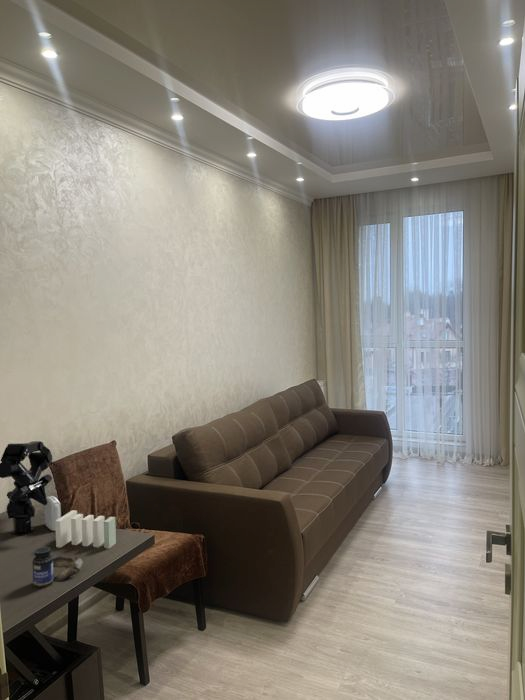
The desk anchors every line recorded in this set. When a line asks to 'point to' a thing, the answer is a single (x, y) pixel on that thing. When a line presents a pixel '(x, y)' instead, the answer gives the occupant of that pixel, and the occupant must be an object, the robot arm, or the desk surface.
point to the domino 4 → (98, 531)
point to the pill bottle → (42, 567)
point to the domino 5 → (109, 532)
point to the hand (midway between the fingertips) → (46, 504)
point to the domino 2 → (76, 529)
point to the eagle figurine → (68, 564)
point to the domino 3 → (87, 530)
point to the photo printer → (52, 512)
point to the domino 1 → (64, 528)
